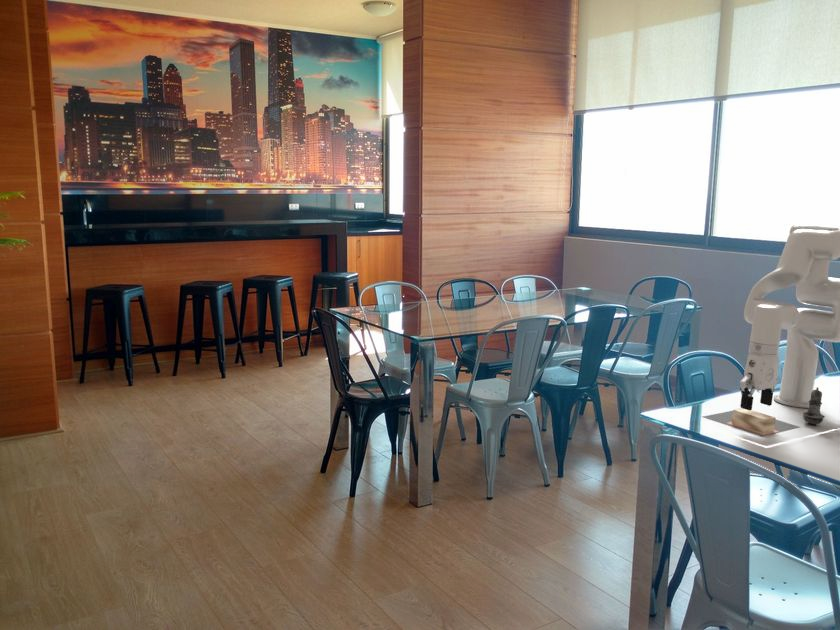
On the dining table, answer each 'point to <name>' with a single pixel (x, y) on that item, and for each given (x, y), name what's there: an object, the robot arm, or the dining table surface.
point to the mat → (727, 420)
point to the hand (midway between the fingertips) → (755, 406)
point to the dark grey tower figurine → (814, 409)
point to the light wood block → (753, 420)
